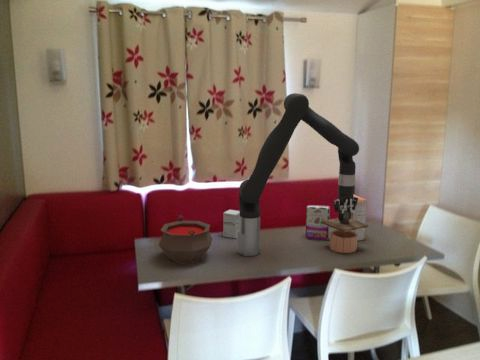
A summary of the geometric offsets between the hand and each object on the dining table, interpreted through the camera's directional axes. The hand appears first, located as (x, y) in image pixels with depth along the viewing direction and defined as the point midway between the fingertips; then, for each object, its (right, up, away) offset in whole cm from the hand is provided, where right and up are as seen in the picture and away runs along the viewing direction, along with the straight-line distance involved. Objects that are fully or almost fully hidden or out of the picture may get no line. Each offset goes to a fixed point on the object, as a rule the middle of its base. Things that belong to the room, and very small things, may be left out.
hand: (344, 219), depth 193 cm
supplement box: (-52, -10, +19) cm, 56 cm away
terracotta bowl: (0, -13, +3) cm, 14 cm away
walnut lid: (0, -2, 0) cm, 2 cm away
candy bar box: (-10, -11, +17) cm, 22 cm away
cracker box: (+9, -10, +19) cm, 23 cm away
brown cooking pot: (-72, -16, -10) cm, 74 cm away
